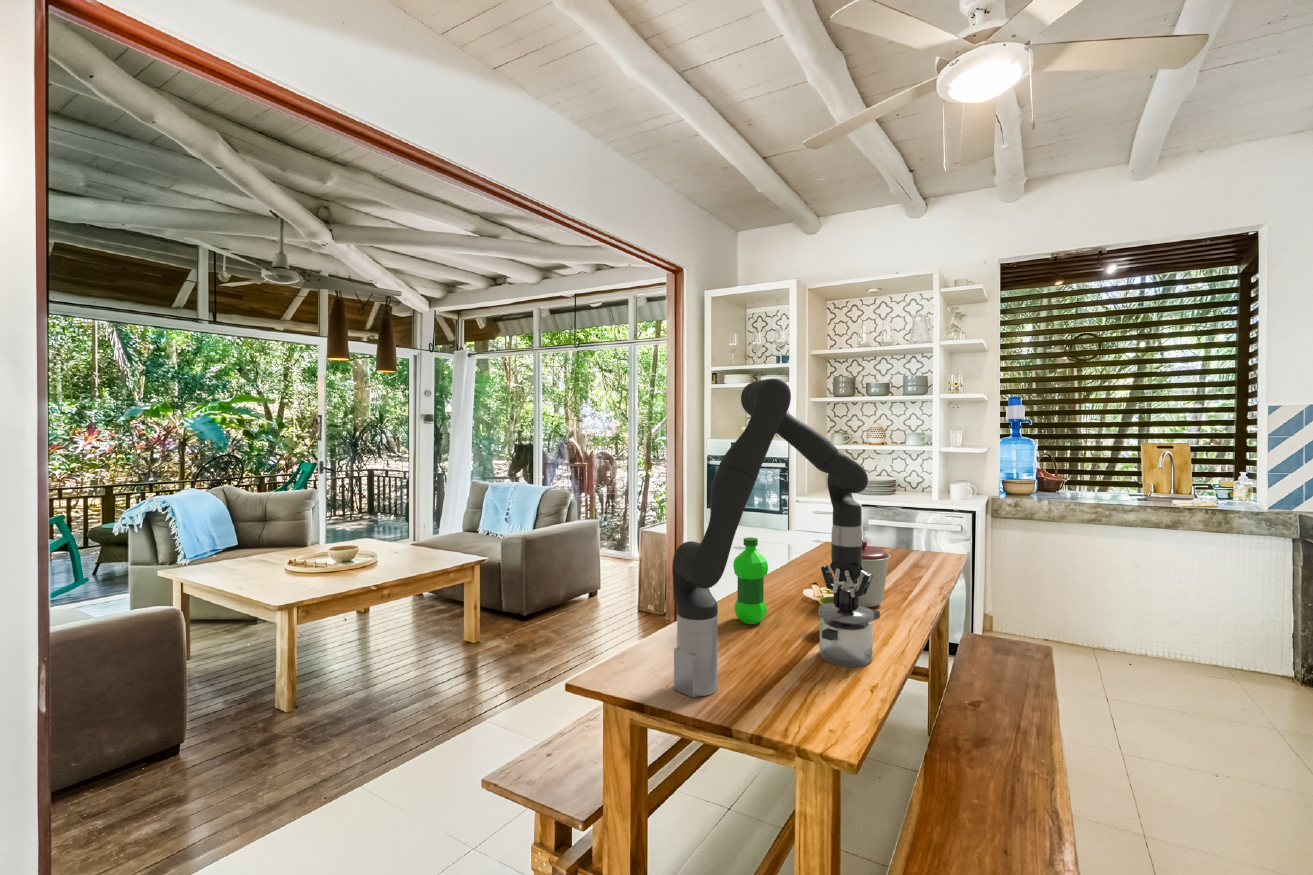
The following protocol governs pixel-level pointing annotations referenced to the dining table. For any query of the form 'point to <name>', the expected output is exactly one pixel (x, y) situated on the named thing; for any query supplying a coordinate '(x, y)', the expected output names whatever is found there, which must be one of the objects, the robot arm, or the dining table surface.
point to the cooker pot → (847, 642)
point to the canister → (877, 566)
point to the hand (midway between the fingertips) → (845, 608)
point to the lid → (845, 611)
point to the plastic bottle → (750, 583)
